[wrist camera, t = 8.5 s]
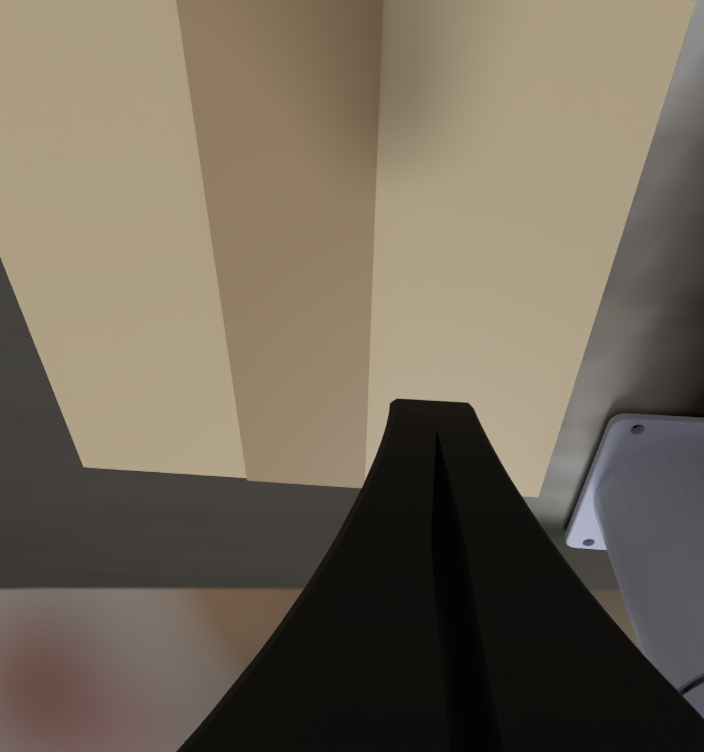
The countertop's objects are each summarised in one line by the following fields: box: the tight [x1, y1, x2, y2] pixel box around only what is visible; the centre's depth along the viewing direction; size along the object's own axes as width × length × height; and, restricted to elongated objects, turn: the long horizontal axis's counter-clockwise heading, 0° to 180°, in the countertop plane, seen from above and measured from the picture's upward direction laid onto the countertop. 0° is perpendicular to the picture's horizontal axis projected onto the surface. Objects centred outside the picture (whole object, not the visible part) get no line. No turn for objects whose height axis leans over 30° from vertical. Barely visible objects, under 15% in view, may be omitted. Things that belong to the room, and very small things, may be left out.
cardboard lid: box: [0, 0, 697, 497], centre depth 13 cm, size 14×15×1 cm
